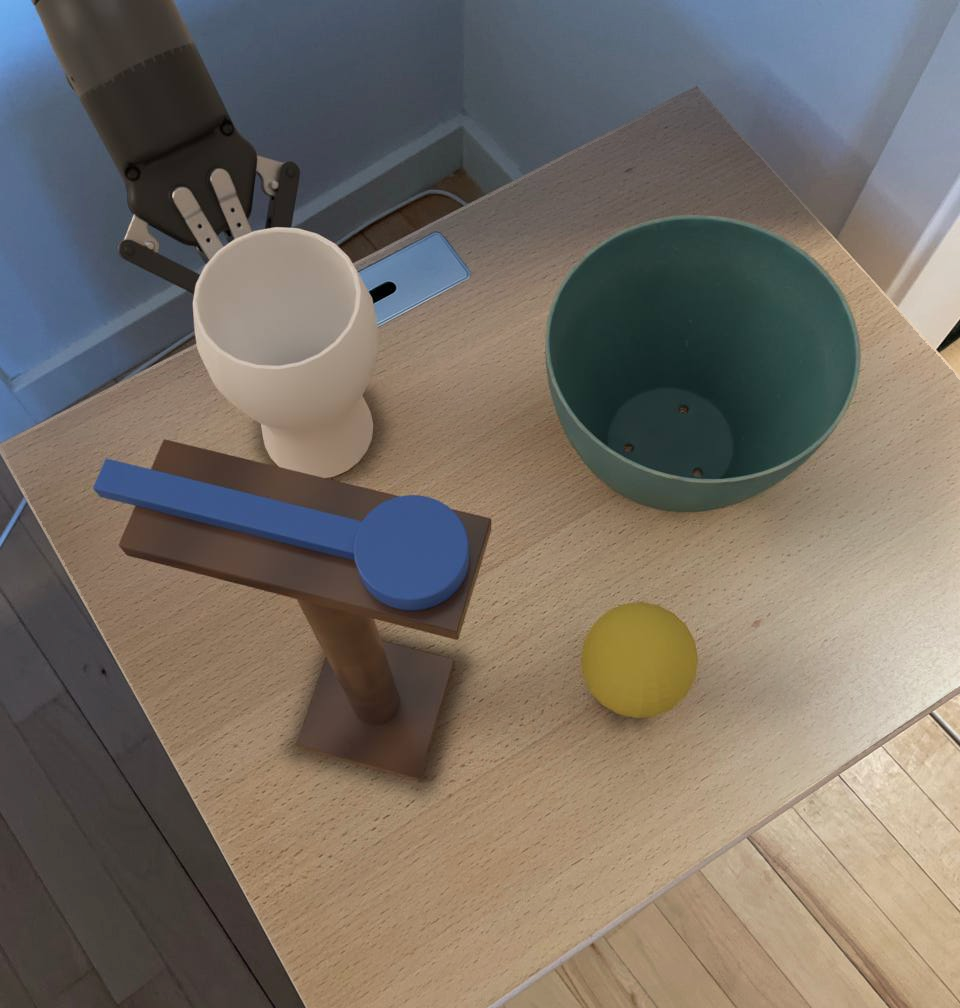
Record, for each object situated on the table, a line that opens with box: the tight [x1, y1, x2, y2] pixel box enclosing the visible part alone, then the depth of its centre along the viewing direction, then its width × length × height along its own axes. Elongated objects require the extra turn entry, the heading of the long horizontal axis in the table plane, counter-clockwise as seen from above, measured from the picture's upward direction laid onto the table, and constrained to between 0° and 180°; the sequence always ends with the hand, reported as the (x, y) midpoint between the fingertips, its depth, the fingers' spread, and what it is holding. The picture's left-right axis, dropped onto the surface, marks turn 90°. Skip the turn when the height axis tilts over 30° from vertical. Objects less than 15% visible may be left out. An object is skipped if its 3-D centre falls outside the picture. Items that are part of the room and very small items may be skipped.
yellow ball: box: [580, 601, 699, 719], centre depth 60 cm, size 7×7×10 cm
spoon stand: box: [118, 438, 492, 782], centre depth 53 cm, size 14×8×26 cm, turn 75°
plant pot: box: [544, 214, 862, 514], centre depth 65 cm, size 18×18×12 cm
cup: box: [192, 227, 380, 479], centre depth 64 cm, size 11×11×15 cm
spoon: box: [92, 458, 470, 610], centre depth 40 cm, size 15×4×1 cm, turn 75°
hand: (275, 341), depth 68 cm, fingers closed
